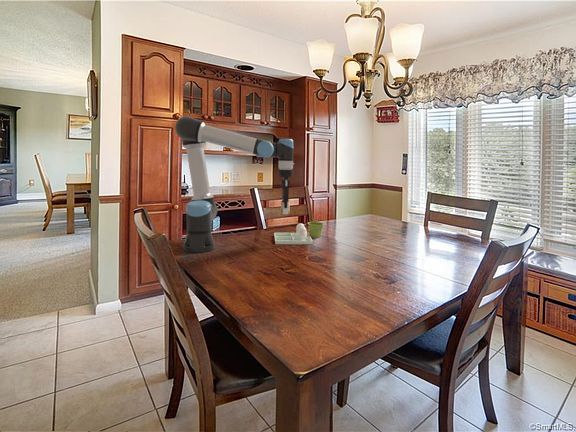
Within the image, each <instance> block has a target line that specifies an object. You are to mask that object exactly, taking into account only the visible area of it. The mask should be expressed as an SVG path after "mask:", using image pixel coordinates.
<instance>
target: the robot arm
mask: <svg viewBox="0 0 576 432" xmlns="http://www.w3.org/2000/svg"><path fill="white" fill-rule="evenodd" d="M174 131H175V133H176V135H177V136H178V138H180V139H181V145H182V148H184V149H185V150H186V156H187V162H188V169H189V174H190V181H191V186H192V187H191V188H192V192H193V196H192V198H191V201H189V202H188V203H186V206H185V215H186V235H185V240H184V242H183V251H185V252H188V253H207V252H211V251H214V250H215V249H216V244H215V240H214V238H213V237H214V236H213V234H212V221H213V220H215V218H217V214H218V206H217V204H216V201H215V197H214V195H213V194H211V189H210V182H209V176H208V169H207V163H206V156H205V150H204V147H206V144H207V143H210V144H212V145H213V144H214V145H217V146H220V147H224V148H228V149H232V150H236V151H241V152H242V153H243V152H244V153H247V154H251V155H254V156H256V158H278V177H280V178H282V180H281V188H282V196H281V197H282V198H281V201H282V199H283V201H282V202H283V214H288V201H290V200H289V199H290V198H289V195H290V193H289V192H290V191H289V190H290V184H291V183H290V182H291V181H290V179H289V178H292V177H293V176H294V170H293V169H294V165H295V163H294V151H295V150H294V149H295V148H294V140H293V139H292V138H279V139H278V142H271V141H267V140H263V139H260V138H255V137H251V136H248V135H245V134H241V133H238V132H237V133H236V132H234V131H230V130H225V129H223V128H218V127H214V126H211V125H207V124H206V123H205V122H204V121H201V120H199V119H198V118H195V117H192V116H189V115H185V116H182V117H180V118H179V119H177V121H175V124H174ZM283 214H282V215H283ZM288 215H289V214H288Z"/></svg>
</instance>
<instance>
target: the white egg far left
mask: <svg viewBox="0 0 576 432" xmlns="http://www.w3.org/2000/svg"><path fill="white" fill-rule="evenodd" d="M300 227H305V225H304V224H303V223H298V224H297V225H296V230H295V231H296V232H295V233H296V236H298V230H299V228H300Z"/></svg>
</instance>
